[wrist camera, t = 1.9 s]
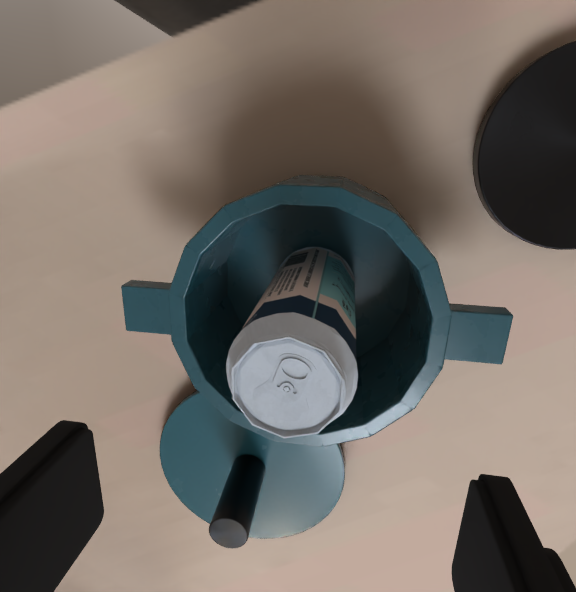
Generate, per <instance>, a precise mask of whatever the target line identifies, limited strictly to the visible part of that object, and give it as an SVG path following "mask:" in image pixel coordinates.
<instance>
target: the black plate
mask: <svg viewBox="0 0 576 592" xmlns="http://www.w3.org/2000/svg"><path fill="white" fill-rule="evenodd" d="M473 174H474V180H475V186H476V189H477V192H478V195H479V198H480V200H481V202H482V204H483V206H484V208H485V209H486V210H487V212H488V213H489V215H490V216H491V217H492V218H493V219H494V221H495V222H496V223H497V224H498V225H499V226H501V227H502V228H503V229H505V230H506V231H507V232H509V233H511V234H512V235H514V236H516V237H518V238H520V239H521V240H523V241H526V242H528V243H531V244H534V245H537V246H541V247H545V248H551V249H576V41H574V42H571V43H568V44H565V45H563V46H561V47H559V48H557V49H555V50H553V51H551V52H549V53H547V54H545V55H543V56H541V57H540V58H538V59H536V60H535V61H533V62H532V63H530V64H529V65H528V66H526V67H525V68H524V69H522V70H521V71H520V72H519V73H518V74H516V75H515V76H514V77H513V78H512V79H511V80H510V81H509V82H508V83H507V84H506V86H505V87H504V88H503V89H502V90H501V92H500V93H499V94H498V95H497V97H496V98H495V100H494V101H493V103H492V104H491V106H490V107H489V109H488V111H487V113H486V115H485V117H484V119H483V121H482V124H481V126H480V129H479V132H478V135H477V139H476V143H475V147H474V157H473Z"/></svg>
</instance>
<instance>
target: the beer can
mask: <svg viewBox="0 0 576 592" xmlns="http://www.w3.org/2000/svg"><path fill="white" fill-rule="evenodd" d="M226 373H227V380H228V384H229V388H230V390H231V393H232V399H233V401H234V402H235V403H236V405H237V406H238V407H239V408H240V410H241V411H242V412H243V414H244V415H245V416H246V418H247V419H248V420H249V422H250V423H251V424H252V425H253V426H255V427H258V428H260V429H262V430H265V431H267V432H270V433H272V434H275V435H277V436H280V437H282V438H291V437H298V436H305V435H312V434H318V433H319V432H320V431H321V430H322V429H323V428H325V427H326V426H327V425H328V424H329V423H331V422H332V421H333V420H335V419H336V418H338V417H339V416H340V415H342V414H343V413H344V411H345V410H346V409H347V407H348V406H349V404H350V403H351V402H352V400H353V397H354V394H355V392H356V389H357V381H358V370H357V360H356V321H355V278H354V275H353V272H352V270H351V268H350V267H349V265H348V263H347V262H346V261H345V260H344V259H343V258H342V257H341V256H340V255H339V254H337V253H335V252H333V251H331V250H329V249H325V248H322V247H307V248H303V249H300V250H297V251H295V252H293V253H292V254H290V255H289V256H288V257H287V258H286V259H285V260H284V261H283V262H282V264H281V265H280V267H279V269H278V271H277V273H276V274H275V276H274V277H273V279H272V281H271V282H270V284H269V286H268V287H267V289H266V290H265V292H264V294H263V295H262V297H261V299H260V300H259V302H258V303H257V305H256V307H255V308H254V310H253V312H252V313H251V315H250V316H249V318H248V320H247V321H246V323H245V325H244V326H243V328H242V329H241V331H240V333H239V334H238V335H237V337H236V338H235V339H234V341H233V343H232V345H231V347H230V349H229V353H228V357H227V361H226Z"/></svg>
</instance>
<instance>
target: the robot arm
mask: <svg viewBox="0 0 576 592" xmlns="http://www.w3.org/2000/svg"><path fill="white" fill-rule="evenodd" d="M103 514H104V507H103V500H102V493H101V487H100V480H99V473H98V466H97V459H96V452H95V446H94V439H93V433H92V431H91V430H89V429H88V427H87V425H86V424H85V423H81V422H73V421H65V420H63V421H60V422H58V423H57V424H56V425H55V426H54V427H52V428H51V429H50V430H49V431H48V432H47V433H46V434H45V435H43V436H42V437H41V438H40V439H39V440H38V441H37V442H36V443H34V444H33V445H32V446H31V447H30V448H29V449H28V450H27V451H26V452H24V453H23V454H22V455H21V456H20V457H19V458H18V459H17V460H15V461H14V462H13V463H12V464H11V465H10V466H9V467H8V468H6V469H5V470H4V471H3V472H2V473H1V474H0V592H54V590H55V589H56V587H57V586H58V585H59V583H60V582H61V580H62V579H63V577H64V576H65V574H66V573H67V572H68V570H69V569H70V567H71V566H72V564H73V563H74V561H75V560H76V559H77V557H78V556H79V554H80V553H81V551H82V550H83V548H84V547H85V546H86V544H87V543H88V541H89V540H90V538H91V537H92V536H93V534H94V533H95V531H96V530H97V528H98V527H99V525H100V523H101V521H102V518H103ZM452 581H453V586H454V591H455V592H576V588H575V586H574V584H573V582H572V580H571V578H570V576H569V574H568V572H567V570H566V569H565V566H564V564H563V562H562V561H561V559H560V557H559V556H558V554H557V553H556V552H555V551H554V550H552V549H549V548H543V546H542V543H541V541H540V539H539V537H538V535H537V533H536V531H535V529H534V527H533V525H532V523H531V521H530V519H529V517H528V515H527V512H526V510H525V508H524V506H523V504H522V502H521V500H520V498H519V496H518V494H517V492H516V490H515V488H514V486H513V484H512V482H511V480H510V479H509V478H508V477H501V476H493V475H485V474H481V475H480V476H479V478H478V480H471V481H470V485H469V489H468V494H467V498H466V503H465V508H464V512H463V517H462V522H461V526H460V531H459V536H458V540H457V545H456V549H455V554H454V559H453V563H452Z"/></svg>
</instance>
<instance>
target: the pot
mask: <svg viewBox="0 0 576 592" xmlns="http://www.w3.org/2000/svg"><path fill="white" fill-rule="evenodd" d="M307 247H322V248H325V249H329V250H331V251H333V252H335V253H337V254H339V255H340V256H341V257H342V258H343V259H344V260H345V261H346V262H347V263H348V265H349V267H350V268H351V270H352V272H353V275H354V278H355V321H356V360H357V370H358V381H357V389H356V392H355V394H354V397H353V400H352V402H351V403H350V404H349V406H348V407H347V409H346V410H345V411H344V413H343V414H342V415H340V416H339V417H338V418H336V419H335V420H333V421H332V422H331V423H329V424H328V425H327V426H326V427H325V428H323V429H322V430H321V431H320V432H319V433H318V434H312V435H305V436H298V437H291V438H282V437H280V436H277V435H275V434H272V433H270V432H267V431H265V430H262V429H260V428H258V427H255V426H253V425H252V424H251V423H250V422H249V420H248V419H247V418H246V416H245V415H244V414H243V412H242V411H241V410H240V408H239V407H238V406H237V405H236V403H235V402H234V401H233V399H232V393H231V390H230V388H229V384H228V380H227V373H226V361H227V357H228V353H229V349H230V347H231V345H232V343H233V341H234V339H235V338H236V337H237V335H238V334H239V333H240V331H241V329H242V328H243V326H244V325H245V323H246V321H247V320H248V318H249V316H250V315H251V313H252V312H253V310H254V308H255V307H256V305H257V303H258V302H259V300H260V299H261V297H262V295H263V294H264V292H265V290H266V289H267V287H268V286H269V284H270V282H271V281H272V279H273V277H274V276H275V274H276V273H277V271H278V269H279V267H280V265H281V264H282V262H283V261H284V260H285V259H286V258H287V257H288V256H289V255H290V254H292V253H293V252H295V251H297V250H300V249H303V248H307ZM121 288H122V297H123V306H124V315H125V323H126V330H127V331H137V332H148V333H159V334H170V335H171V337H172V342H173V345H174V347H175V349H176V351H177V353H178V355H179V357H180V359H181V361H182V363H183V366H184V368H185V370H186V372H187V374H188V376H189V378H190V380H191V382H192V384H193V385H194V387H195V388H196V389H197V390H198V391H199V392H200V393H201V394H202V395H203V396H204V397H205V398H206V399H207V400H208V401H209V402H210V403H211V404H212V405H213V406H214V407H215V408H216V409H217V410H218V411H220V412H221V413H222V414H223V415H224V416H225V417H226V418H227V419H228V420H230V421H232V422H234V423H236V424H238V425H240V426H242V427H244V428H247V429H249V430H251V431H253V432H255V433H257V434H259V435H261V436H264V437H266V438H268V439H270V440H272V441H273V440H274V441H277V442H286V443H294V444H302V445H311V446H319V447H322V446H323V447H325V446H329V445H334V444H339V443H343V442H348V441H353V440H357V439H362V438H367V437H370V436H371V435H374V434H376V433H377V432H379V431H381V430H382V429H384V428H385V427H387V426H388V425H390V424H391V423H393V422H395V421H396V420H398V419H399V418H401V417H402V416H404V415H406V414H407V413H409V412H410V411H412V410H413V409H415V407H416V406H417V404H418V403H419V401H420V400H421V399H422V397H423V396H424V394H425V393H426V391H427V390H428V388H429V387H430V386H431V384H432V383H433V381H434V380H435V378H436V377H437V375H438V374H439V373H440V371H441V370H442V368H443V364H444V359H449V360H460V361H471V362H482V363H493V364H502V363H503V358H504V354H505V350H506V345H507V341H508V336H509V332H510V328H511V323H512V319H513V315H512V314H511V313H510V312H509V311H508V310H507V309H506V308H503V307H489V306H476V305H462V304H449V301H448V298H447V294H446V291H445V287H444V284H443V280H442V276H441V273H440V269H439V266H438V262H437V260H436V258H435V257H434V256H433V255H432V253H431V252H430V251H429V250H428V248H427V247H426V246H425V244H424V243H423V242H422V241H421V239H420V238H419V237H418V236H417V234H416V233H415V232H414V231H413V229H412V228H411V227H410V226H409V225H408V223H407V222H406V221H405V220H404V219H403V218H402V216H401V215H400V214H399V213H398V212H397V211H396V209H395V208H394V207H393V206H392V205H391V204H390V202H389V201H388V200H387V199H386V198H385V197H384V196H383V195H380V194H378V193H376V192H374V191H372V190H370V189H368V188H367V187H365V186H363V185H360V184H358V183H355V182H353V181H351V180H349V179H347V178H345V177H344V178H343V177H334V176H308V175H299V176H295V177H293V178H290V179H288V180H285V181H282V182H280V183H277V184H275V185H272V186H270V187H267V188H264V189H262V190H259V191H257V192H255V193H252V194H250V195H248V196H245V197H243V198H241V199H238V200H236V201H234V202H231V203H229V204H227V205H225V206H224V207H222V208H221V209H220V210H219V211H218V212H217V213H216V214H215V215H214V216H213V217H212V218H211V219H210V220H209V221H208V222H207V223H206V224H205V225H204V226H203V227H202V228H201V230H200V231H199V232H198V233H197V234H196V235H195V236H194V237H193V238H192V239H191V240H190V241H189V242H188V243H187V245H186V246H185V247H184V250H183V253H182V256H181V259H180V261H179V264H178V267H177V270H176V273H175V275H174V278H173V281H172V283H164V282H150V281H137V280H131V281H129V282H127V283H125V284H124V285H122V286H121Z"/></svg>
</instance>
